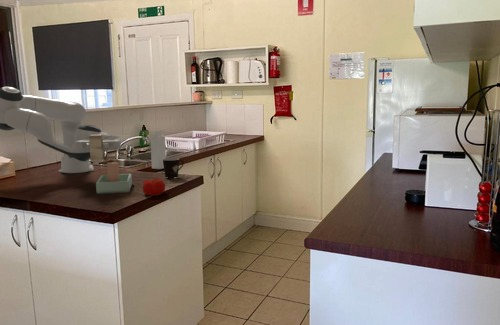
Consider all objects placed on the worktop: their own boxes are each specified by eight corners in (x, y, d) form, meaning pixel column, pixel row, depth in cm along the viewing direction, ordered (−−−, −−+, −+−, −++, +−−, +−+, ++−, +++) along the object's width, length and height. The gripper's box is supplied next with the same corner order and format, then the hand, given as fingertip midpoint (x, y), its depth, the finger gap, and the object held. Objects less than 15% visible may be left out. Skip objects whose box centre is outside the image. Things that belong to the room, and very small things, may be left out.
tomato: (143, 198, 176) (142, 183, 175) (142, 192, 186) (141, 178, 185) (166, 196, 179) (166, 181, 178) (164, 190, 189) (163, 176, 188)
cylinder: (109, 187, 191) (107, 162, 189) (120, 187, 192) (119, 161, 190) (107, 190, 186) (105, 164, 184) (119, 189, 187) (117, 163, 185)
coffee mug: (164, 180, 211) (164, 160, 210) (161, 176, 219) (161, 158, 217) (187, 178, 215) (186, 159, 214) (183, 175, 223) (182, 157, 222)
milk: (151, 168, 243) (149, 131, 240) (158, 166, 249) (157, 130, 245) (159, 169, 240) (157, 131, 237) (166, 167, 246) (164, 130, 242)
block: (92, 160, 193) (91, 134, 191) (103, 159, 194) (102, 134, 192) (90, 161, 189) (89, 135, 187) (102, 161, 189) (100, 135, 188)
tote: (102, 184, 200) (101, 174, 200) (131, 183, 203) (131, 173, 202) (96, 193, 183) (95, 182, 182) (129, 192, 186) (128, 181, 185)
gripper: (78, 136, 200) (71, 139, 187) (122, 136, 204) (118, 139, 191) (79, 149, 201) (72, 153, 188) (122, 148, 205) (119, 152, 192)
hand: (96, 146), depth 190 cm, fingers closed on block, 5 cm apart
